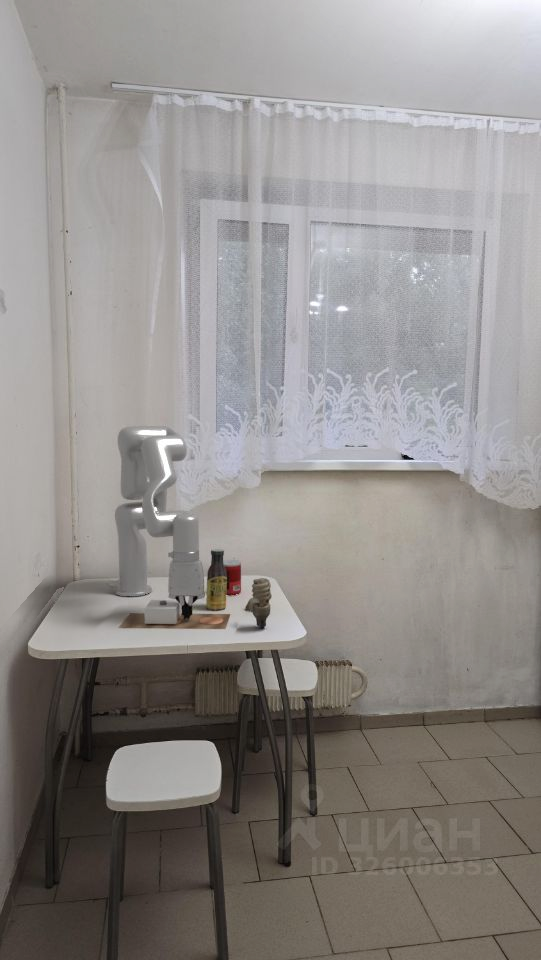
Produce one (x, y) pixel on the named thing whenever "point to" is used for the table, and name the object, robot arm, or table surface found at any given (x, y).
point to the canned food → (233, 576)
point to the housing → (162, 612)
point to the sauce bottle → (216, 582)
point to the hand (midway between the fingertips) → (187, 617)
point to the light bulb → (261, 601)
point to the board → (180, 622)
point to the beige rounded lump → (254, 600)
